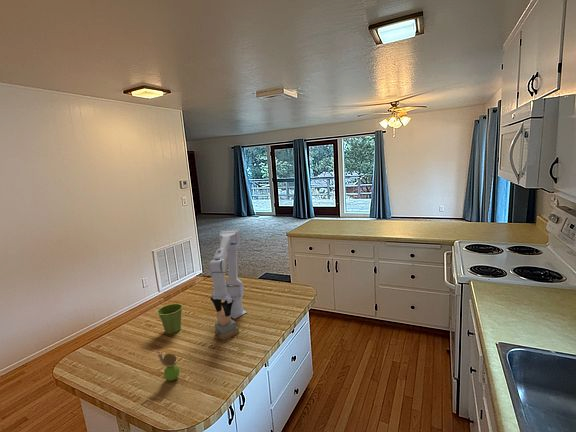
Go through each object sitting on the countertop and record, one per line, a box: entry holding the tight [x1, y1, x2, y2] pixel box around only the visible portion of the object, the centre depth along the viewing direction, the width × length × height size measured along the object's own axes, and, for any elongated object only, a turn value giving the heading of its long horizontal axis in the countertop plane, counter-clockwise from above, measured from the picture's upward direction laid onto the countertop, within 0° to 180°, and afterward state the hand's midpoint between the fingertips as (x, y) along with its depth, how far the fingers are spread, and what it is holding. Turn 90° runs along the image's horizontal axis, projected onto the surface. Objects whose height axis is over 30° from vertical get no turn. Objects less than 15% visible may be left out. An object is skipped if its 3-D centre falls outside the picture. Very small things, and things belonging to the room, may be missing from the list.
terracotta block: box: [216, 309, 232, 326], centre depth 141 cm, size 4×4×5 cm
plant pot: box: [156, 303, 184, 335], centre depth 149 cm, size 12×12×11 cm
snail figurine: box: [157, 350, 180, 382], centre depth 113 cm, size 5×6×12 cm
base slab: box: [214, 325, 240, 341], centre depth 142 cm, size 8×8×3 cm
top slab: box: [214, 318, 237, 334], centre depth 141 cm, size 7×7×3 cm
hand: (223, 313), depth 141 cm, fingers open, 7 cm apart
